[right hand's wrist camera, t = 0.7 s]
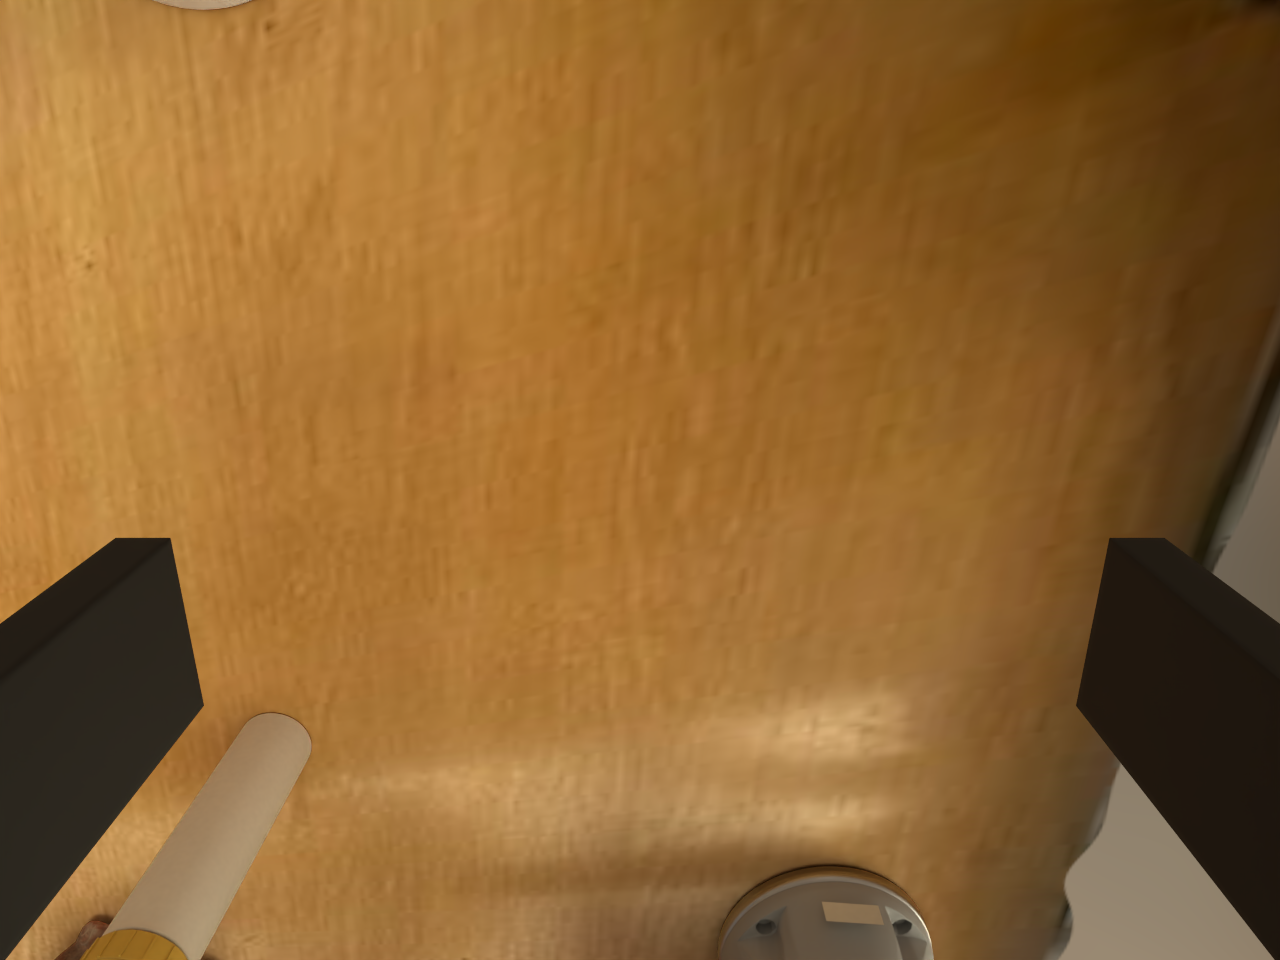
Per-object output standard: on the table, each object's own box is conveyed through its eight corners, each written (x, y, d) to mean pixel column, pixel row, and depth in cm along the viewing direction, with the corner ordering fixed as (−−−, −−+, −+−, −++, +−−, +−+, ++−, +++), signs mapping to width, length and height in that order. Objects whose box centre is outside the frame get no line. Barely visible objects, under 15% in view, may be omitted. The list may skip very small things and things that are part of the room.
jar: (326, 739, 59) (193, 993, 42) (286, 782, 60) (140, 1046, 43) (266, 699, 58) (103, 943, 41) (227, 744, 59) (52, 999, 42)
